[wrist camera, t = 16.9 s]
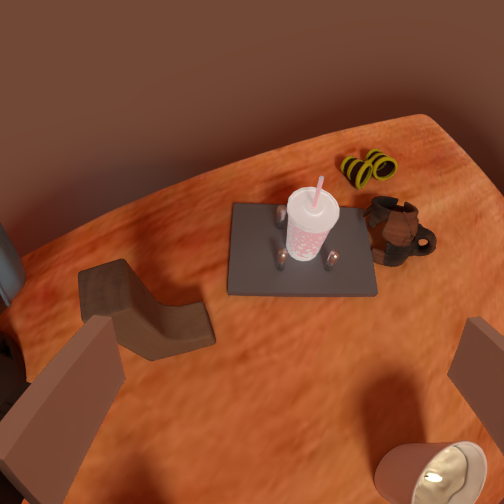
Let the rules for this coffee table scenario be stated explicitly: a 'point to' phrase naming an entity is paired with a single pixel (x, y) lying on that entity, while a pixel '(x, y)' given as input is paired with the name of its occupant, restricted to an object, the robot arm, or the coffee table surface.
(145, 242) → the coffee table surface
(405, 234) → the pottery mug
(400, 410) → the coffee table surface
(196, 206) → the coffee table surface
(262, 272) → the cup stand
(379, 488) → the candle holder
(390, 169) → the opera glasses
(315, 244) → the beverage cup
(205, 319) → the wooden block
